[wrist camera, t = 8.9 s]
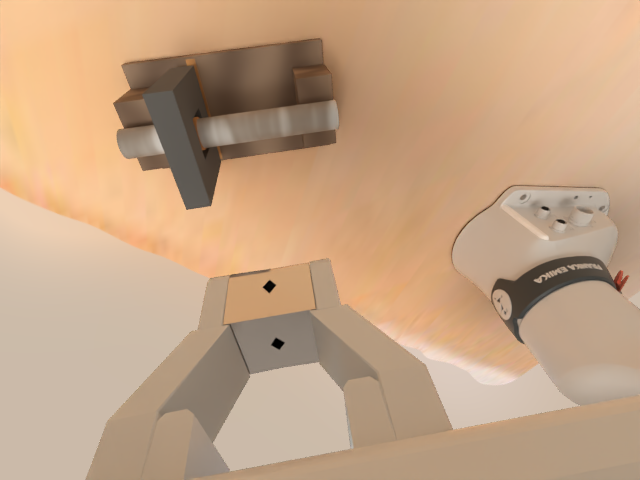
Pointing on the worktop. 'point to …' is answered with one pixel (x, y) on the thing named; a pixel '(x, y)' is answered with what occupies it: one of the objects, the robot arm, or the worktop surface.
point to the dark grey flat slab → (183, 134)
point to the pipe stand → (239, 102)
